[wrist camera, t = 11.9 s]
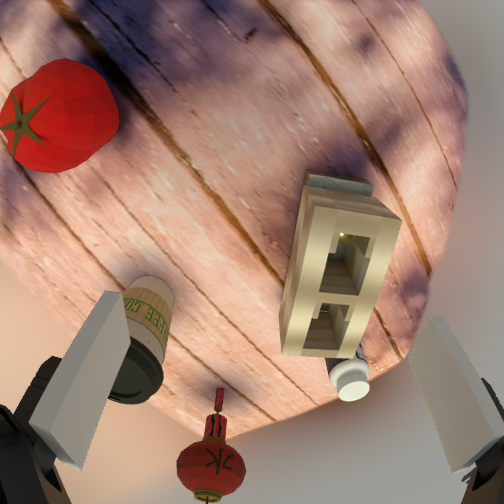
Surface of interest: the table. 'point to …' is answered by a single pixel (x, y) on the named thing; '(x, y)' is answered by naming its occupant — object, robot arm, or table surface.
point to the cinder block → (334, 272)
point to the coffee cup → (144, 340)
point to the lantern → (211, 461)
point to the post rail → (341, 185)
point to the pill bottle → (349, 375)
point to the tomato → (59, 116)
